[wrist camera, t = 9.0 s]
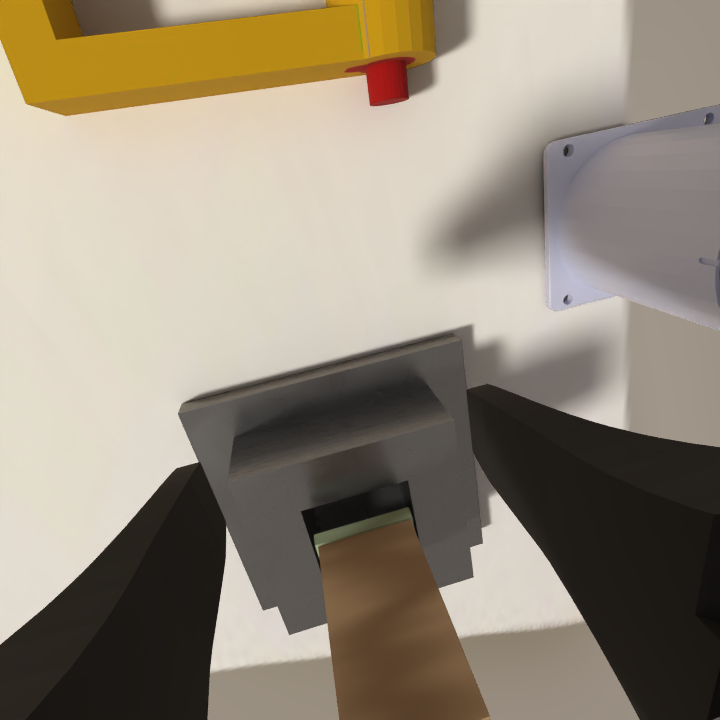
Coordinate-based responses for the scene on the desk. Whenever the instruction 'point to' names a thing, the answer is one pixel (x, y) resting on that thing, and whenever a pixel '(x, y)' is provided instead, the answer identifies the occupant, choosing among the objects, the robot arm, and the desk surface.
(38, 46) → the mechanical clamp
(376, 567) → the oak post
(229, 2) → the desk surface
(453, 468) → the metal sleeve
